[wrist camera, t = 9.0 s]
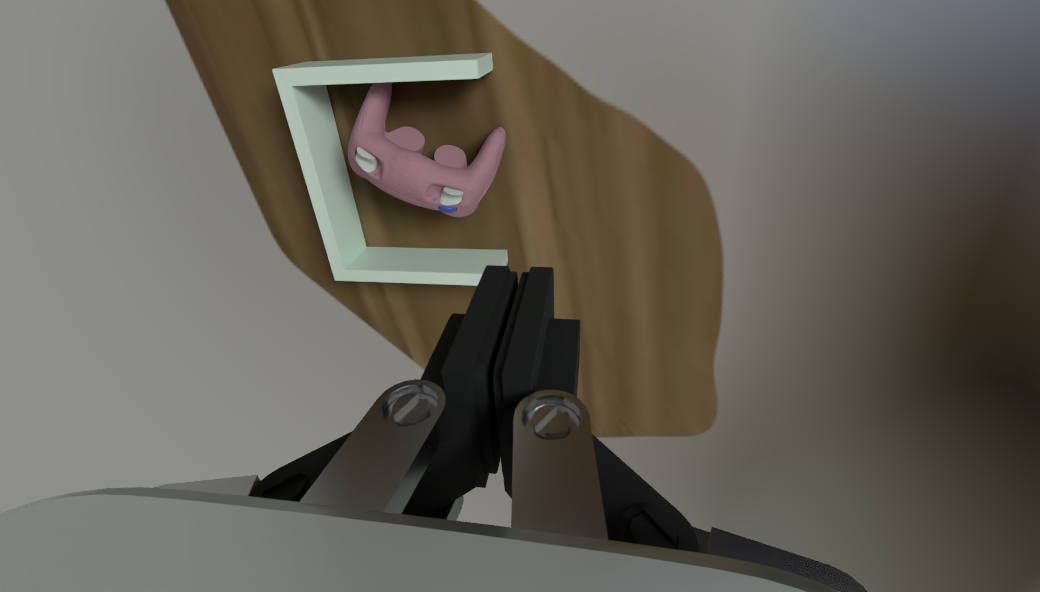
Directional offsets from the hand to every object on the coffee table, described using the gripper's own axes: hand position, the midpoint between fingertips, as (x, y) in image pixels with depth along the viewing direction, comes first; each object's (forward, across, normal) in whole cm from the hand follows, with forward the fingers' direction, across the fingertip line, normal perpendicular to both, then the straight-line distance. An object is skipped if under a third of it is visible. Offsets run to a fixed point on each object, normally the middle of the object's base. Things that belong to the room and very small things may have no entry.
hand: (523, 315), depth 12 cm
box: (+23, +11, +4) cm, 26 cm away
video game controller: (+24, +10, +2) cm, 26 cm away
